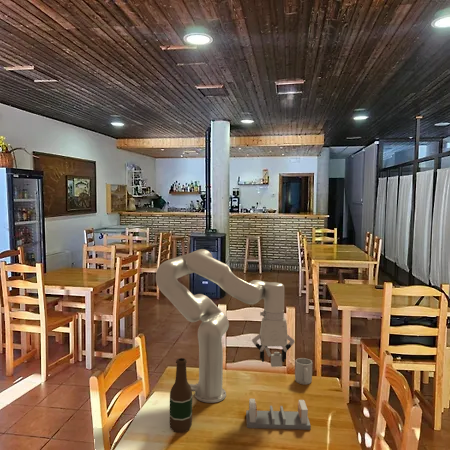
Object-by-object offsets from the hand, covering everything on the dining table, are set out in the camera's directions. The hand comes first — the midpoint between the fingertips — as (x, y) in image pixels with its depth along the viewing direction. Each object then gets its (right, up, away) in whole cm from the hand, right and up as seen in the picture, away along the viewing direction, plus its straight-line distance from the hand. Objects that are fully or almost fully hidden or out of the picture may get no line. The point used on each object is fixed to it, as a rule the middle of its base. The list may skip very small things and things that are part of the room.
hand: (272, 360), depth 155 cm
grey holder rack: (0, -18, -11) cm, 21 cm away
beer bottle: (-34, -18, -15) cm, 41 cm away
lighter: (0, -2, 0) cm, 2 cm away
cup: (+16, -17, +21) cm, 32 cm away
